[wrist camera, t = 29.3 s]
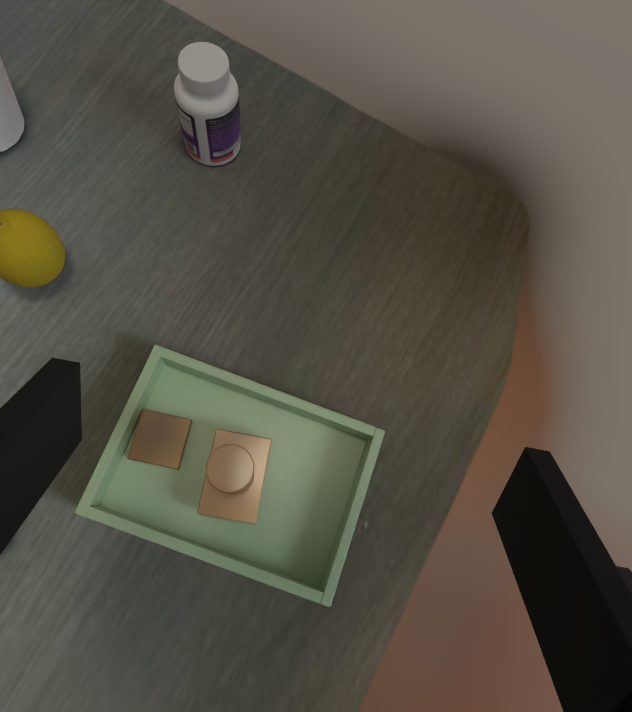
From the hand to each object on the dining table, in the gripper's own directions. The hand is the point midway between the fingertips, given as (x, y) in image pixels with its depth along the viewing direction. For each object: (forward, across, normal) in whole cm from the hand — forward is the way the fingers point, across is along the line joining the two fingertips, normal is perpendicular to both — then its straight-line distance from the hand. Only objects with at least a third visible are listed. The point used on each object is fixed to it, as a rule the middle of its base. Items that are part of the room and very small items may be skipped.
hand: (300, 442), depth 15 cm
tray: (+20, -3, -19) cm, 28 cm away
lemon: (+29, -22, -10) cm, 38 cm away
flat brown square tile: (+20, -9, -18) cm, 29 cm away
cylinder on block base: (+19, -3, -19) cm, 27 cm away
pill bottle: (+41, -12, +2) cm, 43 cm away
